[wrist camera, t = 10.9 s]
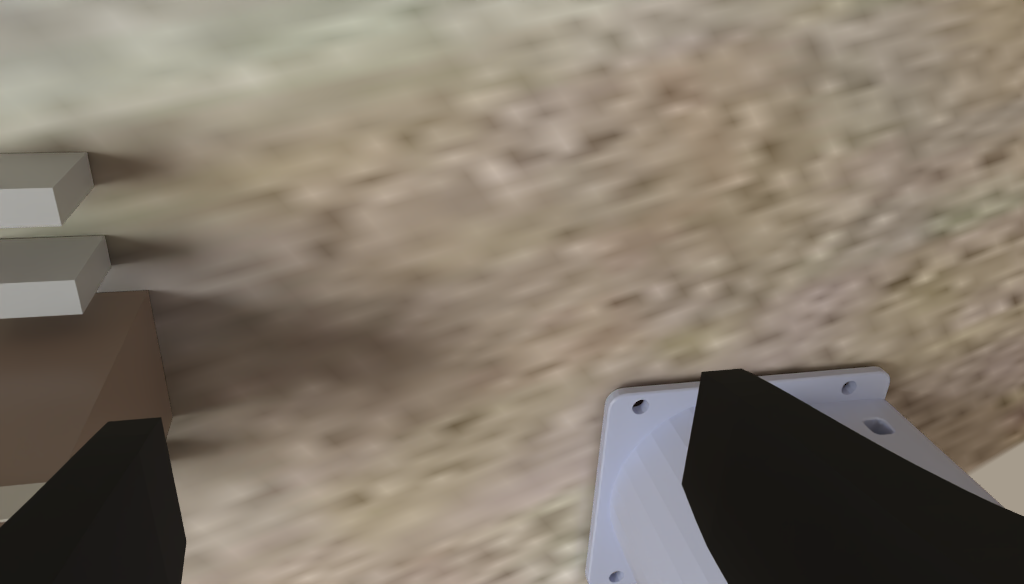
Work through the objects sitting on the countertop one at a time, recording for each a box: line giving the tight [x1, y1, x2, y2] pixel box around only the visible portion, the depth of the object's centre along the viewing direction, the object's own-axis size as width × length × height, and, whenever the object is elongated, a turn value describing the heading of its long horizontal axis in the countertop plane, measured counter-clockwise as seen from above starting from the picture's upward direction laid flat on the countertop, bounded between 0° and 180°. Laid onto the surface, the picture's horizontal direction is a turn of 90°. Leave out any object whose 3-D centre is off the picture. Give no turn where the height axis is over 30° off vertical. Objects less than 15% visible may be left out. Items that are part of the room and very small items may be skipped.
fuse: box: [0, 290, 173, 527], centre depth 16 cm, size 4×4×8 cm
